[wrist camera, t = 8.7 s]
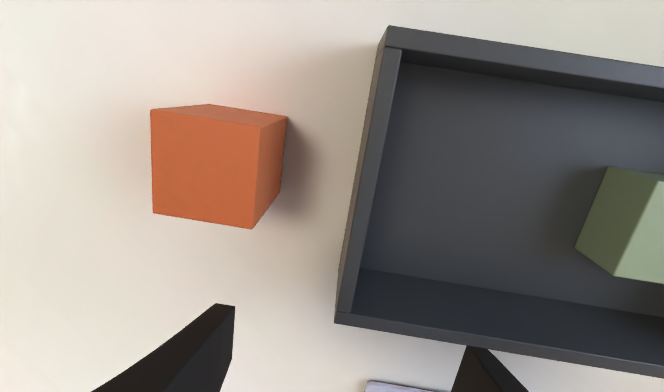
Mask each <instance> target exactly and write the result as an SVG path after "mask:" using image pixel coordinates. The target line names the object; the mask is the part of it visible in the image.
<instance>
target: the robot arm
mask: <svg viewBox="0 0 664 392" xmlns="http://www.w3.org/2000/svg"><path fill="white" fill-rule="evenodd" d="M234 318H235V306H230V305H224V304H218V303H216V304H214V305H213V306H211V307H210V308H209V309H207V310H206V311H205V312H204V313H202V314H201V315H200V316H199V317H197V318H196V319H195V320H194V321H192V322H191V323H190V324H189V325H187V326H186V327H185V328H183V329H182V330H181V331H180V332H178V333H177V334H176V335H174V336H173V337H172V338H170V339H169V340H168V341H166V342H165V343H164V344H162V345H161V346H160V347H158V348H157V349H156V350H154V351H153V352H151V353H150V354H148V355H147V356H146V357H144V358H143V359H141V360H140V361H138V362H137V363H135V364H134V365H132V366H131V367H130V368H128V369H127V370H125V371H124V372H122V373H121V374H119V375H117V376H116V377H114V378H113V379H111V380H110V381H108V382H106V383H105V384H103V385H102V386H100V387H98V388H97V389H95V390H93V391H92V392H220V389H221V387H222V384H223V381H224V379H225V376H226V373H227V371H228V368H229V365H230V362H231V360H232V348H233V333H234ZM364 392H433V391H428V390H422V389H416V388H410V387H404V386H398V385H392V384H386V383H381V382H375V381H370V382H367V383H366V385H365V388H364ZM451 392H529V391H528V390H527V389H526V388H525V387H524V386H523V385H522V384H521V383H520V382H519V381H518V380H517V379H516V378H515V377H514V376H513V375H512V374H511V373H510V372H509V370H508V369H507V368H506V367H505V366H504V365H503V364H502V363H501V362H500V361H499V360H498V359H497V358H496V357H495V356H494V355H493V354H492V353H491V352H490V351H489V350H488V349H486V348H480V347H474V346H468V345H467V347H466V349H465V352H464V355H463V358H462V361H461V364H460V367H459V370H458V373H457V376H456V379H455V382H454V384H453V387H452V390H451Z"/></svg>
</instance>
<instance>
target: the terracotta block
mask: <svg viewBox="0 0 664 392" xmlns="http://www.w3.org/2000/svg"><path fill="white" fill-rule="evenodd" d="M150 119H151V160H152V202H153V213H155V214H162V215H168V216H174V217H180V218H186V219H192V220H198V221H204V222H210V223H216V224H223V225H229V226H235V227H241V228H247V229H253V228H254V226H255V225H256V224H257V222H258V221H259V220H260V218H261V217H262V216H263V214H264V213H265V211H266V210H267V209H268V207H269V206H270V205H271V203H272V202H273V201H274V199H275V198H276V197H277V195H278V194H279V192H280V184H281V174H282V164H283V155H284V145H285V135H286V126H287V117H286V116H281V115H274V114H268V113H262V112H255V111H249V110H243V109H237V108H230V107H224V106H218V105H211V104H205V105H194V106H183V107H172V108H161V109H151V110H150Z"/></svg>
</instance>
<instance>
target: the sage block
mask: <svg viewBox="0 0 664 392" xmlns="http://www.w3.org/2000/svg"><path fill="white" fill-rule="evenodd" d="M574 248H575V249H576V250H578V251H579V252H580V253H582V254H583V255H585V256H586V257H587V258H589V259H590V260H592V261H593V262H594V263H596V264H597V265H599V266H600V267H601V268H603V269H604V270H606V271H607V272H608V273H610V274H611V275H613V276H617V277H623V278H629V279H635V280H641V281H648V282H654V283H660V284H664V175H662V174H656V173H649V172H643V171H637V170H631V169H624V168H618V167H612V166H609V167H608V168H607V171H606V173H605V175H604V178H603V180H602V183H601V185H600V187H599V190H598V192H597V194H596V197H595V199H594V202H593V204H592V206H591V209H590V211H589V213H588V216H587V218H586V221H585V223H584V225H583V228H582V230H581V232H580V235H579V237H578V240H577V242H576V244H575V247H574Z"/></svg>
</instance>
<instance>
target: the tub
mask: <svg viewBox="0 0 664 392" xmlns="http://www.w3.org/2000/svg"><path fill="white" fill-rule="evenodd" d="M609 166H612V167H618V168H624V169H631V170H637V171H643V172H649V173H656V174H662V175H664V67H658V66H652V65H645V64H639V63H632V62H626V61H619V60H613V59H606V58H600V57H593V56H586V55H580V54H573V53H567V52H560V51H554V50H547V49H541V48H534V47H528V46H521V45H515V44H508V43H502V42H495V41H488V40H482V39H475V38H469V37H462V36H456V35H449V34H443V33H436V32H430V31H423V30H417V29H410V28H404V27H397V26H390V25H389V26H388V27H387V29H386V31H385V33H384V35H383V36H382V38H381V40H380V42H379V44H378V48H377V54H376V59H375V65H374V71H373V76H372V82H371V88H370V93H369V99H368V105H367V110H366V116H365V122H364V127H363V133H362V139H361V144H360V150H359V156H358V162H357V167H356V173H355V179H354V184H353V190H352V196H351V201H350V207H349V213H348V218H347V224H346V230H345V235H344V241H343V247H342V253H341V258H340V264H339V270H338V281H337V293H336V304H335V316H334V323H336V324H342V325H348V326H354V327H360V328H366V329H372V330H378V331H384V332H390V333H396V334H402V335H408V336H414V337H419V338H425V339H431V340H437V341H443V342H449V343H455V344H461V345H468V346H474V347H480V348H486V349H491V350H497V351H503V352H509V353H515V354H521V355H527V356H533V357H539V358H545V359H551V360H557V361H563V362H569V363H575V364H581V365H587V366H592V367H598V368H604V369H610V370H616V371H622V372H628V373H634V374H640V375H646V376H652V377H658V378H664V284H660V283H654V282H648V281H641V280H635V279H629V278H623V277H617V276H613V275H611V274H610V273H608V272H607V271H606V270H604V269H603V268H601V267H600V266H599V265H597V264H596V263H594V262H593V261H592V260H590V259H589V258H587V257H586V256H585V255H583V254H582V253H580V252H579V251H578V250H576V249H575V248H574V247H575V244H576V242H577V240H578V237H579V235H580V232H581V230H582V228H583V225H584V223H585V221H586V218H587V216H588V213H589V211H590V209H591V206H592V204H593V202H594V199H595V197H596V194H597V192H598V190H599V187H600V185H601V183H602V180H603V178H604V175H605V173H606V171H607V168H608V167H609Z"/></svg>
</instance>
